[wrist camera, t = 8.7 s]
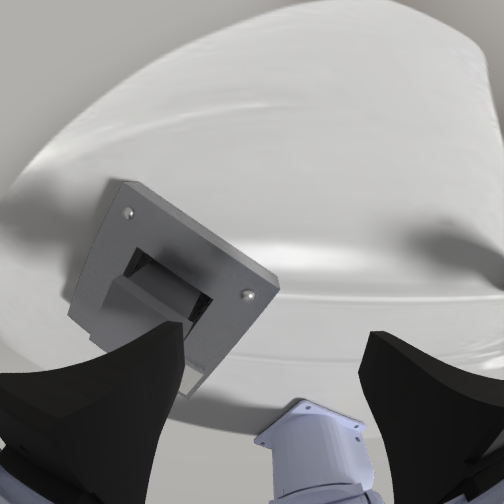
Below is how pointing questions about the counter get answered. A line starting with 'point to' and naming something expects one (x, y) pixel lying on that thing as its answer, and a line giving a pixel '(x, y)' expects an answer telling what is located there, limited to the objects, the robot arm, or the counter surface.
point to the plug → (143, 305)
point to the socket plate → (182, 264)
